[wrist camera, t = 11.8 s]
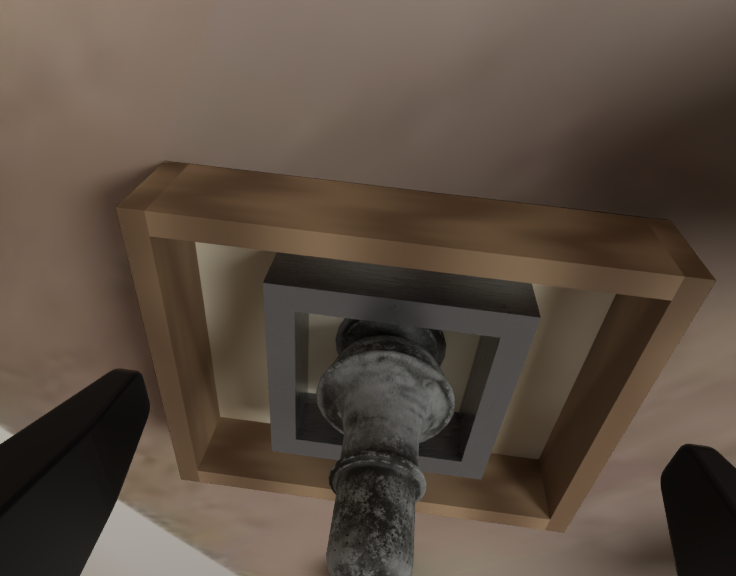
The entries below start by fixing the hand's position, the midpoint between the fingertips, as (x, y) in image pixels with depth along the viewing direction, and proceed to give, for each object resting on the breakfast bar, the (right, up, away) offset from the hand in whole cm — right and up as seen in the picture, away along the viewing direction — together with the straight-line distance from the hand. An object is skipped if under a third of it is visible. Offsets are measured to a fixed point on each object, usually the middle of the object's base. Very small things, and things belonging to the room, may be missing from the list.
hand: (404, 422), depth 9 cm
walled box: (+1, 0, +16) cm, 16 cm away
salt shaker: (+1, 0, +16) cm, 16 cm away
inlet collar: (+1, 0, +16) cm, 16 cm away
